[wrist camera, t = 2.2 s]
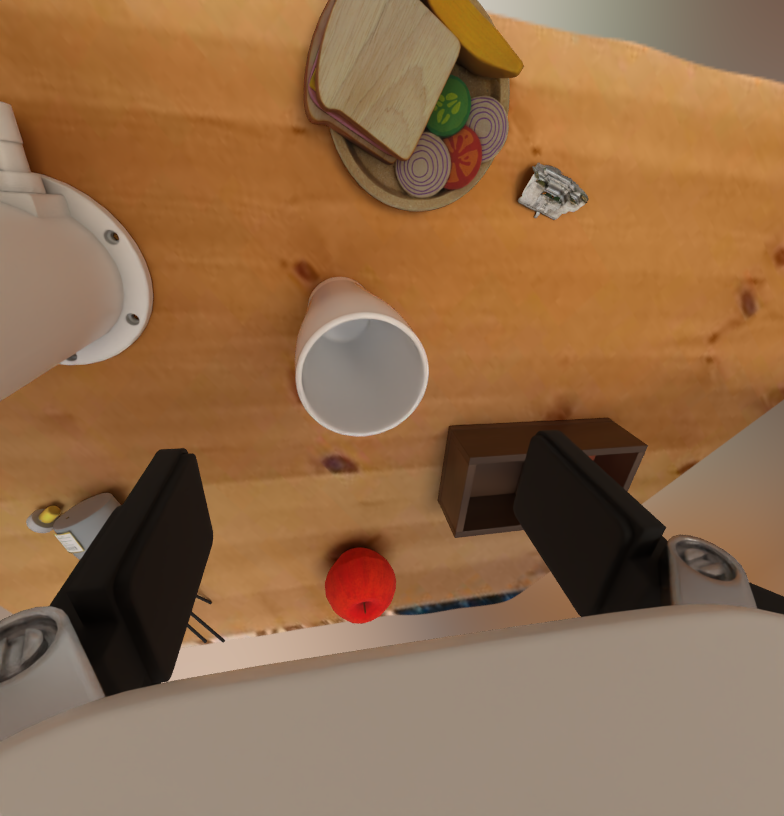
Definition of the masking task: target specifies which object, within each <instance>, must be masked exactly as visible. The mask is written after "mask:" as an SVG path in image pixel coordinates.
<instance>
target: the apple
mask: <svg viewBox="0 0 784 816" xmlns="http://www.w3.org/2000/svg"><path fill="white" fill-rule="evenodd" d="M395 589H396V578H395V574H394V571H393V569H392V567H391V566H390V564H389V563H388V561H387V560H386V559H385V558H384V557H382V556H381V555H380V554H378V553H377V552H375V551H373V550H370V549H367V548H362V547H357V548H352V549H349V550H347V551H346V552H344V553H342V555H341V556H340V557H339V558H338V560H337V561H336V562H335V563H334V565H333V566H332V567H331V569H330V570H329V572H328V575H327V578H326V581H325V591H326V597H327V599H328V601H329V603H330V605H331V607H332V609H333V610H334V611H335V613H336V614H338V615H339V616H340V617H342V618H344V619H345V620H347V621H349V622H352V623H361V624H362V623H366V622H369V621H372V620H374V619H376V618H377V617H379V616H380V615H381V614H382V613H383V612H384V611H385V610H386V609H387V607H388V606H389V605H390V604H391V601H392V599H393V596H394V592H395Z"/></svg>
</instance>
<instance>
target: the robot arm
mask: <svg viewBox="0 0 784 816" xmlns="http://www.w3.org/2000/svg"><path fill="white" fill-rule="evenodd" d="M22 144H23V141H22V138H21V135H20V132H19V129H18V125H17V122H16V119H15V116H14V113H13V110H12V107H11V105H10V104H7V103H4V102H0V401H2V400H3V399H5V398H6V397H8V396H9V395H11V394H12V393H14V392H16V391H17V390H19V389H20V388H22V387H23V386H25V385H27V384H28V383H30V382H31V381H33V380H34V379H36V378H37V377H39V376H41V375H42V374H44V373H45V372H47V371H48V370H50V369H52V368H53V367H55V366H56V365H58V364H63V365H83V364H91V363H95V362H100V361H104V360H106V359H109V358H111V357H113V356H115V355H118V354H119V353H121V352H122V351H124V350H125V349H126V348H128V347H129V346H130V345H131V344H132V343H133V342H134V341H136V340H137V339H138V338H139V337H140V335H141V334H142V332H143V331H144V329H145V327H146V326H147V324H148V321H149V318H150V315H151V312H152V305H153V289H152V281H151V276H150V273H149V270H148V267H147V264H146V261H145V259H144V257H143V255H142V254H141V252H140V250H139V248H138V246H137V244H136V243H135V241H134V240H133V239H132V237H131V236H130V235H129V233H128V232H127V230H126V229H125V228H124V226H123V225H122V224H121V223H120V222H119V221H118V220H117V219H116V218H115V217H114V216H113V215H112V214H111V213H110V212H109V211H108V210H107V209H105V208H104V207H103V206H101V205H100V204H99V203H97V202H96V201H95V200H93V199H92V198H91V197H89V196H88V195H86V194H85V193H83V192H81V191H79V190H77V189H76V188H74V187H72V186H70V185H68V184H67V183H64V182H62V181H59V180H56V179H54V178H51V177H48V176H46V175H43V174H38V173H34V172H31V170H30V167H29V164H28V161H27V158H26V155H25V152H24V149H23V145H22ZM114 233H116V234H117V235H118V237H119V240H116V239H115V238H114V237H113V234H114ZM134 314H135V315H136V316H138V318H139V320H138V319H136V318H134ZM75 353H76V354H75ZM513 510H514V514H515V516H516V518H517V520H518V521H519V523H520V524H521V526H522V528H523V529H524V531H525V532H526V534H527V535H528V537H529V538H530V540H531V542H532V543H533V545H534V546H535V548H536V549H537V551H538V552H539V554H540V555H541V557H542V559H543V560H544V562H545V563H546V565H547V566H548V568H549V569H550V571H551V573H552V574H553V575H554V577H555V578H556V580H557V582H558V583H559V585H560V586H561V588H562V590H563V591H564V593H565V594H566V596H567V597H568V599H569V600H570V602H571V603H572V605H573V607H574V608H575V610H576V611H577V613H578V614H579V615H580V616H581V617H579V618H572V619H565V620H558V621H551V622H545V623H537V624H530V625H523V626H516V627H509V628H503V629H496V630H489V631H483V632H476V633H469V634H463V635H456V636H449V637H443V638H436V639H430V640H423V641H416V642H410V643H403V644H397V645H390V646H383V647H378V648H371V649H364V650H357V651H352V652H345V653H338V654H332V655H326V656H319V657H313V658H306V659H300V660H294V661H287V662H281V663H274V664H269V665H262V666H256V667H250V668H245V669H239V670H233V671H227V672H222V673H215V674H210V675H204V676H198V677H192V678H187V679H181V680H175V681H170V682H167V681H168V680H169V679H170V677H171V675H172V673H173V670H174V666H175V663H176V660H177V657H178V654H179V650H180V647H181V644H182V641H183V637H184V634H185V631H186V628H187V625H188V621H189V618H190V615H191V612H192V608H193V605H194V602H195V599H196V595H197V592H198V589H199V586H200V582H201V579H202V576H203V573H204V570H205V566H206V563H207V560H208V557H209V553H210V550H211V547H212V543H213V530H212V525H211V521H210V516H209V512H208V508H207V503H206V499H205V494H204V490H203V486H202V481H201V477H200V472H199V468H198V463H197V459H196V456H195V454H188V452H187V450H186V449H185V448H181V449H161V450H159V451H158V452H157V453H156V454H155V456H154V457H153V459H152V461H151V462H150V464H149V465H148V467H147V468H146V470H145V471H144V473H143V474H142V476H141V477H140V479H139V480H138V482H137V484H136V485H135V487H134V488H133V490H132V491H131V493H130V494H129V496H128V497H127V499H126V500H125V502H124V503H123V505H120V506H118V507H116V508H115V510H114V511H113V512H112V513H111V515H110V516H109V518H108V519H107V521H106V522H105V524H104V525H103V527H102V528H101V530H100V531H99V533H98V534H97V536H96V537H95V539H94V540H93V542H92V543H91V545H90V546H89V547H88V549H87V550H86V552H85V553H84V555H83V556H82V558H81V559H80V561H79V562H78V564H77V565H76V567H75V568H74V570H73V571H72V573H71V574H70V576H69V577H68V579H67V580H66V582H65V583H64V585H63V586H62V588H61V589H60V591H59V592H58V594H57V595H56V597H55V598H54V600H53V601H52V603H51V604H50V606H48V607H35V608H31V609H28V610H24V611H20V612H18V613H16V614H14V615H11V616H9V617H7V618H5V619H2V620H1V621H0V816H784V597H783V596H781V595H778V594H776V593H774V592H771V591H769V590H766V589H764V588H761V587H759V586H757V585H754V584H752V583H749V582H748V579H747V575H746V573H745V572H744V569H743V568H742V566H741V565H740V564H739V563H738V562H737V560H736V559H735V558H734V557H732V556H731V555H730V554H729V553H727V552H726V551H725V550H723V549H721V548H720V547H718V546H716V545H715V544H713V543H711V542H708V541H706V540H704V539H701V538H698V537H693V536H690V535H676V536H673V537H671V538H670V539H669V540H668V541H667V540H666V539H665V538H664V537H663V536H662V534H663V532H664V530H665V529H666V527H665V526H664V525H663V524H662V523H661V522H660V521H659V520H658V519H656V518H655V517H654V516H653V515H652V514H651V513H650V512H649V511H648V510H647V509H645V508H644V507H643V506H642V505H641V504H640V503H639V502H638V501H637V500H636V499H635V498H633V497H632V496H631V495H630V494H629V493H628V492H627V491H626V490H625V489H624V488H623V487H621V486H620V485H619V484H618V483H617V482H616V481H615V480H614V479H613V478H612V477H610V476H609V475H608V474H607V473H606V472H605V471H604V470H603V469H602V468H601V467H600V466H598V465H597V464H596V463H595V462H594V461H593V460H592V459H591V458H590V457H589V456H587V455H586V454H585V453H584V452H583V451H582V450H581V449H580V448H579V447H578V446H576V445H575V444H574V443H573V442H572V441H571V440H570V439H569V438H568V437H567V436H566V435H564V434H563V433H562V432H561V431H559V430H544V431H538V432H537V433H536V435H535V436H533V437H532V438H531V440H530V444H529V447H528V451H527V455H526V459H525V463H524V466H523V470H522V474H521V478H520V481H519V485H518V489H517V493H516V497H515V500H514V505H513ZM161 682H166V683H161Z"/></svg>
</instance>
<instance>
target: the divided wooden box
mask: <svg viewBox="0 0 784 816" xmlns="http://www.w3.org/2000/svg"><path fill="white" fill-rule="evenodd" d="M544 430H559V431H561V432H562V433H563V434H564V435H566V436H567V437H568V438H569V439H570V440H571V441H572V442H573V443H574V444H575V445H576V446H578V447H579V448H580V449H581V450H582V451H583V452H584V453H585V454H586V455H587V456H589V457H590V458H591V459H592V460H593V461H594V462H595V463H596V464H597V465H598V466H600V467H601V468H602V469H603V470H604V471H605V472H606V473H607V474H608V475H609V476H610V477H612V478H613V479H614V480H615V481H616V482H617V483H618V484H619V485H620V486H621V487H623V488H624V489H625V490H626V491H628V489H629V487H630V485H631V483H632V480H633V478H634V476H635V474H636V471H637V469H638V467H639V465H640V463H641V460H642V458H643V456H644V454H645V451H646V449H647V447H648V445H646V444H645V443H644V442H642V441H641V440H639V439H638V438H636V437H635V436H634V435H632V434H631V433H629V432H628V431H626V430H625V429H624V428H622V427H621V426H619V425H618V424H616V423H615V422H613V421H612V420H611V419H609V418H599V419H579V420H559V421H539V422H519V423H499V424H479V425H459V426H449V431H448V437H447V444H446V450H445V457H444V463H443V470H442V476H441V483H440V489H439V496H438V502H439V504H440V506H441V508H442V511H443V513H444V515H445V517H446V520H447V522H448V524H449V526H450V528H451V531H452V533H453V535H454V537H455V538H459V537H467V536H476V535H485V534H493V533H502V532H511V531H519V530H524V529H523V528H522V526H521V524H520V523H519V521H518V520H517V518H516V516H515V514H514V510H513V505H514V500H515V497H516V493H517V489H518V485H519V481H520V478H521V474H522V470H523V466H524V463H525V459H526V455H527V451H528V447H529V444H530V440H531V438H532V437H533V436H535V435H536V433H537V432H538V431H544Z"/></svg>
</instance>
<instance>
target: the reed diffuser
mask: <svg viewBox="0 0 784 816" xmlns="http://www.w3.org/2000/svg"><path fill="white" fill-rule="evenodd" d="M118 506H120V503H119V502H118V501H117V500H116V499H115V498H114V496H113V495H112V494H111V493H102V494H99V495H96V496H93V497H91V498H88V499H86V500H84V501H82V502H80V503H79V504H77V505H75V506H74V507H72V508H71V509H69V510H68V511H66V512H65V513H64V514H63V515H61V516H60V517H59V516H58V515H59V514H60V512H61V510H60V508H58V507H57V506H49V507H47V508H46V509H39V510H36V511H34V512H33V513H32V514H31V515H30V516H29V517H28V518H27V521H26V523H27V526H28V527H29V528H30V529H31V530H32V531H35V532H38V533H47V532H50V531H51V530H53V529H54V531H55V532H56V533H57V535H56V534H54V535H55V536H56V538H57V539H58V540H59V541H60V542H61V544H62V545H63V546H64V547H65V549H66V550H67V551H68V552H69V553H73V554H74V555H75V556H76V557H77V558H78V559H81V558H82V556H83V555H84V553H85V552H86V550H87V549H88V547H89V546H90V545H91V543H92V542H93V540H94V539H95V537H96V536H97V534H98V533H99V531H100V530H101V528H102V527H103V525H104V524H105V522H106V521H107V519H108V518H109V516H110V515H111V513H112V512H113V511H114V510H115V508H116V507H118ZM196 598H198V599H200V600H202V601H205V602H207V603H209V604H211V603H212V602H211V601H209V600H207V599H205V598H203V597H201V596H199V595H196ZM191 616H192V617H194V618H195V619H196V620H197V621H198V622H199V623H201V624H202V625H203V626H204V627H205V628H206V629H208V630H209V631H210V632H211V633H212V634H214V635H215V636H216V637H217V638H218V639H219V640H221V641H222V642H224V641H225V640H224V639H223V638H222V637H221V636H220V635H218V634H217V633H216V632H215V631H214V630H213V629H211V628H210V627H209V626H208V625H207V624H206V623H204V622H203V621H202V620H201V619H200V618H199V617H197V616H196V615H195V614H194V613H193V612H191ZM187 627H188V628H189V629H190V630H191V631H192V632H193V633H194V634H195V635H197V636H198V637H199V638H200V639H201V640H202V641H203V642H204V643H206V642H207V640H206V639H205V638H204V637H202V636H201V635H200V634H199V633H198V632H197V631H196V630H195V629H194V628H192V627H191V626H190V625H189V624H188V625H187Z"/></svg>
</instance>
